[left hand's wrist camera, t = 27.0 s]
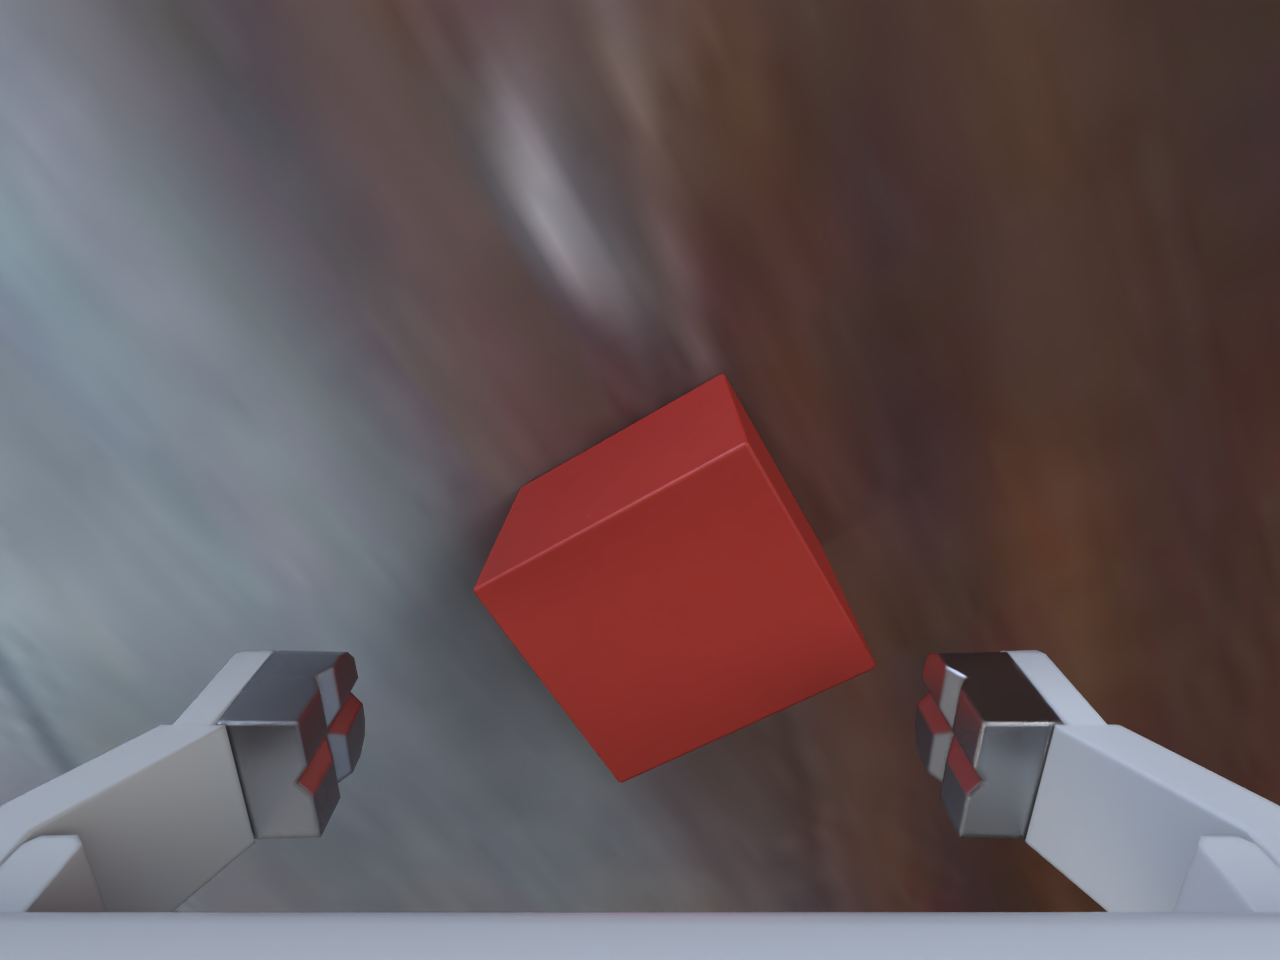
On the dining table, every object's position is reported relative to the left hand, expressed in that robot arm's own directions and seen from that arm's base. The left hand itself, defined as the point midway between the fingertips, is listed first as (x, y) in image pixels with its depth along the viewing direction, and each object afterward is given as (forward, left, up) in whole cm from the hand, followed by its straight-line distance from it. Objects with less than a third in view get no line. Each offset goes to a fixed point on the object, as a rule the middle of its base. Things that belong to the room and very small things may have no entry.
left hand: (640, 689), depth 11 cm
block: (+1, 0, -6) cm, 6 cm away
